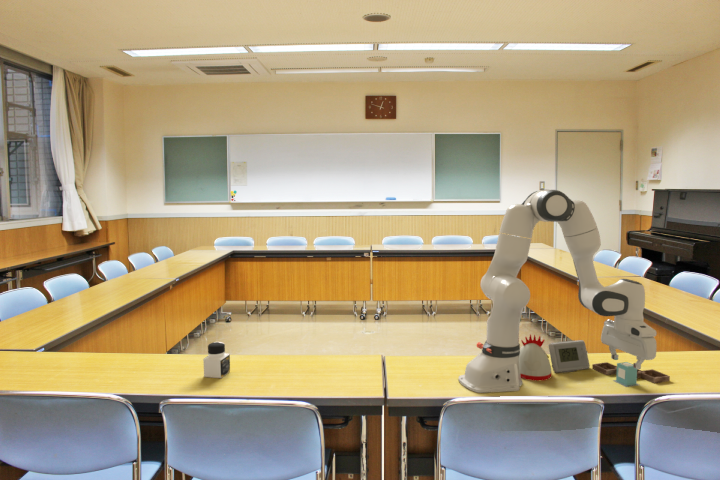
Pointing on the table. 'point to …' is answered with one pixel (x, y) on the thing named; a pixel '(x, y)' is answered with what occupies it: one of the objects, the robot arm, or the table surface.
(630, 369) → the teal rectangular block
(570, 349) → the digital clock
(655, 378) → the box
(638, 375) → the box
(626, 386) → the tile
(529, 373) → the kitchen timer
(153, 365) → the table surface
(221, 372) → the medicine bottle
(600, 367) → the box
